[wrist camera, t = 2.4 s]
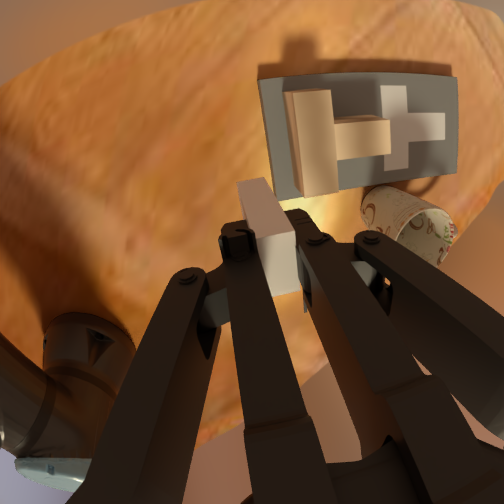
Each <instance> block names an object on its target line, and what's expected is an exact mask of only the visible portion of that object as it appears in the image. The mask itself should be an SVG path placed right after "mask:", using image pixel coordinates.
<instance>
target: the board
mask: <svg viewBox="0 0 504 504" xmlns="http://www.w3.org/2000/svg"><path fill="white" fill-rule="evenodd" d="M257 83H258V89H259V95H260V102H261V108H262V114H263V121H264V127H265V134H266V141H267V148H268V154H269V161H270V168H271V175H272V183H273V190H274V195H275V197H276V199H277V200H278V201H283V200H288V199H294V198H299V197H303V196H302V194H301V193H300V192H299V191H298V189H297V188H296V187H295V186H294V181H293V173H292V164H291V156H290V148H289V140H288V132H287V124H286V117H285V110H284V102H283V95H282V92H285V91H294V90H304V89H315V88H317V89H328V90H331V98H332V108H333V118H334V117H345V116H357V115H374V116H378V117H381V118H385V119H388V120H390V138H391V154H385V155H376V156H367V157H359V158H351V159H344V160H337V168H338V186H339V190H345V189H351V188H357V187H363V186H370V185H376V184H383V183H389V182H396V181H403V180H410V179H417V178H424V177H432V176H439V175H447V174H455V173H457V157H458V84H457V77H450V76H441V75H429V74H414V73H391V72H349V73H325V74H310V75H298V76H287V77H278V78H269V79H262V80H257Z"/></svg>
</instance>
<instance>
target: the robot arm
mask: <svg viewBox="0 0 504 504" xmlns="http://www.w3.org/2000/svg"><path fill="white" fill-rule="evenodd" d="M237 188H238V193H239V199H240V204H241V210H242V215H243V220H240V221H235V222H231V223H226V224H224V226H223V227H222V229H221V235H220V236H219V239H218V242H219V246H220V250H221V254H222V258H223V263H222V264H221V265H220V266H219V267H218V268H216V269H215V270H213V271H211V272H208V273H205V271H204V270H203V269H201V268H197V267H191V268H185V269H182V270H180V271H178V272H177V273H175V274H174V275H173V276H172V278H171V279H170V281H169V283H168V285H167V287H166V289H165V291H164V293H163V295H162V297H161V299H160V301H159V304H158V306H157V308H156V310H155V312H154V314H153V316H152V318H151V320H150V323H149V325H148V327H147V329H146V331H145V333H144V336H143V338H142V340H141V342H140V344H139V347H138V349H137V351H136V349H135V347H134V345H133V343H132V341H131V340H130V339H129V337H128V336H127V335H126V334H125V333H124V332H123V331H122V330H120V329H119V328H118V327H116V326H115V325H113V324H112V323H110V322H108V321H106V320H104V319H102V318H100V317H97V316H94V315H90V314H85V313H67V314H63V315H60V316H58V317H56V318H55V319H54V320H53V321H52V322H51V323H50V325H49V327H48V329H47V331H46V333H45V336H44V340H43V370H42V369H40V368H39V367H38V366H37V365H36V364H34V363H33V362H32V361H31V360H30V359H28V358H27V357H26V356H25V355H24V354H23V353H22V352H21V351H20V350H18V349H17V348H16V347H15V346H14V345H13V344H12V343H11V342H10V341H9V340H8V339H7V338H6V337H5V336H4V335H3V334H2V333H1V332H0V449H1V448H3V449H5V450H6V451H9V452H10V453H11V454H13V455H14V456H16V458H17V459H15V462H14V463H15V467H16V470H17V471H18V473H20V474H22V475H23V476H24V477H26V478H28V479H30V480H32V481H34V482H37V483H40V484H42V485H45V486H48V487H52V488H56V489H60V490H65V491H71V492H74V493H73V495H72V496H71V497H70V499H69V500H68V501H67V502H66V503H65V504H182V501H183V496H184V492H185V487H186V483H187V478H188V474H189V469H190V464H191V460H192V456H193V451H194V447H195V442H196V438H197V434H198V429H199V425H200V421H201V416H202V412H203V407H204V403H205V399H206V394H207V390H208V386H209V381H210V377H211V373H212V369H213V364H214V360H215V356H216V352H217V347H218V343H219V339H220V335H221V325H223V324H225V323H227V322H230V323H231V331H232V338H233V346H234V353H235V361H236V368H237V375H238V382H239V389H240V396H241V403H242V409H243V416H244V423H245V429H244V442H245V449H246V455H247V462H248V468H249V474H250V481H251V487H252V494H251V495H249V496H248V497H247V498H246V499H245V500H244V501H242V502H241V504H504V447H503V450H502V449H500V448H497V447H494V446H493V445H490V444H488V443H486V442H483V441H481V440H479V439H477V438H476V437H475V435H474V434H473V431H472V430H471V428H470V426H469V424H468V423H467V421H466V419H465V417H464V415H463V414H462V412H461V410H460V409H459V407H458V405H457V403H456V402H455V400H454V399H453V397H452V395H453V396H454V397H455V398H456V399H457V400H458V401H459V402H460V403H461V404H462V405H463V406H464V407H465V408H466V409H467V410H468V411H469V412H470V413H471V414H472V415H473V416H474V417H475V419H476V420H478V421H479V422H480V423H481V424H482V425H483V426H484V427H485V428H486V429H488V430H489V431H490V432H491V433H493V434H494V435H496V436H497V437H499V438H501V439H502V440H504V317H503V316H502V315H501V314H499V313H498V312H497V311H495V310H494V309H493V308H492V307H490V306H489V305H488V304H486V303H485V302H484V301H482V300H481V299H480V298H478V297H477V296H475V295H474V294H473V293H471V292H470V291H469V290H467V289H466V288H464V287H463V286H462V285H460V284H459V283H457V282H456V281H455V280H453V279H452V278H450V277H449V276H447V275H446V274H445V273H443V272H442V271H440V270H439V269H437V268H436V267H434V266H433V265H431V264H430V263H428V262H427V261H425V260H424V259H422V258H421V257H419V256H418V255H416V254H415V253H413V252H412V251H410V250H409V249H407V248H406V247H404V246H403V245H401V244H399V243H398V242H396V241H395V240H393V239H392V238H390V237H388V236H387V235H385V234H383V233H381V232H379V231H374V230H366V231H362V232H359V233H358V234H356V235H355V237H354V243H338V242H336V241H335V240H334V238H333V237H332V236H331V235H329V234H327V233H324V232H321V231H320V230H319V229H318V227H317V226H316V224H315V223H314V222H313V220H312V219H311V218H310V216H309V215H308V213H307V212H306V211H304V210H302V209H300V208H298V209H293V210H288V211H283V209H282V207H281V206H280V204H279V202H278V200H277V199H276V197H275V195H274V194H273V192H272V190H271V188H270V187H269V185H268V183H267V182H266V180H265V178H264V177H262V178H256V179H251V180H246V181H240V182H237ZM385 277H386V278H387V279H388V280H389V281H390V286H389V285H387V284H386V283H385ZM300 283H301V285H302V288H303V301H304V313H305V312H307V308H308V311H309V313H310V315H311V318H312V320H313V323H314V325H315V328H316V330H317V333H318V335H319V337H320V340H321V342H322V345H323V347H324V350H325V352H326V355H327V357H328V360H329V362H330V365H331V367H332V369H333V372H334V375H335V377H336V380H337V382H338V385H339V388H340V390H341V393H342V395H343V397H344V400H345V403H346V406H347V408H348V411H349V413H350V416H351V419H352V421H353V424H354V426H355V429H356V432H357V434H358V437H359V440H360V445H361V455H362V460H359V461H355V462H342V463H326V462H325V459H324V456H323V452H322V449H321V446H320V442H319V439H318V436H317V433H316V429H315V426H314V424H313V421H312V419H311V417H310V416H309V415H308V413H307V411H306V408H305V405H304V401H303V398H302V395H301V391H300V388H299V384H298V381H297V378H296V374H295V371H294V368H293V364H292V361H291V358H290V354H289V351H288V348H287V345H286V341H285V338H284V335H283V331H282V328H281V325H280V322H279V318H278V315H277V312H276V308H275V305H274V302H273V299H272V297H274V296H278V295H283V294H288V293H292V292H297V291H300ZM412 355H413V356H414V357H415V358H416V359H417V360H418V361H419V362H420V363H422V365H423V366H424V367H425V368H426V369H427V370H429V372H430V373H431V374H432V375H425V374H424V373H423V372H422V371H421V369H420V367H419V366H418V364H417V362H416V361H415V359H414V357H413V356H412ZM451 394H452V395H451Z"/></svg>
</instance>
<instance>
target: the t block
mask: <svg viewBox="0 0 504 504" xmlns="http://www.w3.org/2000/svg"><path fill="white" fill-rule="evenodd" d="M282 95H283V102H284V110H285V117H286V124H287V132H288V140H289V148H290V156H291V164H292V173H293V181H294V186H295V187H296V188H297V189H298V191H299V192H300V193H301V194H302V196H303V197H304V198H309V197H315V196H321V195H326V194H332V193H338V192H339V186H338V168H337V160H344V159H351V158H359V157H367V156H376V155H385V154H391V138H390V120H388V119H385V118H381V117H378V116H374V115H357V116H345V117H334V118H333V108H332V98H331V90H328V89H317V88H315V89H304V90H294V91H285V92H282Z"/></svg>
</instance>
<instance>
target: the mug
mask: <svg viewBox="0 0 504 504" xmlns="http://www.w3.org/2000/svg"><path fill="white" fill-rule="evenodd" d="M361 217H362V220H363V222H364V223H365V225H366V227H367V228H368V230H374V231H379V232H381V233H383V234H385V235H387V236H388V237H390V238H392V239H393V240H395V241H396V242H398V243H399V244H401V245H403V246H404V247H406V248H407V249H409V250H410V251H412V252H413V253H415V254H416V255H418V256H419V257H421V258H422V259H424V260H425V261H427V262H428V263H430V264H431V265H433V266H434V267H436V268H437V267H438V266H439V264H440V263H441V262H442V261H443V260H444V258H445V257H446V255H447V253H448V251H449V249H450V247H451V244H452V240H453V238H454V237H456V236H457V234H458V230H457V227H456V226H455V225H454V224H453V223H452V220H451V218H450V216H449V215H448V213H447V212H446V211H444V210H443V209H441V208H440V207H438V206H436V205H434V204H431V203H429V202H427V201H425V200H422V199H420V198H418V197H415V196H413V195H411V194H408V193H406V192H404V191H401V190H399V189H396V188H394V187H391V186H387V185H382V186H378V187H376V188H374V189H372V190H371V191H370V192H369V193H368V194H367V195H366V197H365V198H364V200H363V203H362V206H361Z"/></svg>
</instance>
